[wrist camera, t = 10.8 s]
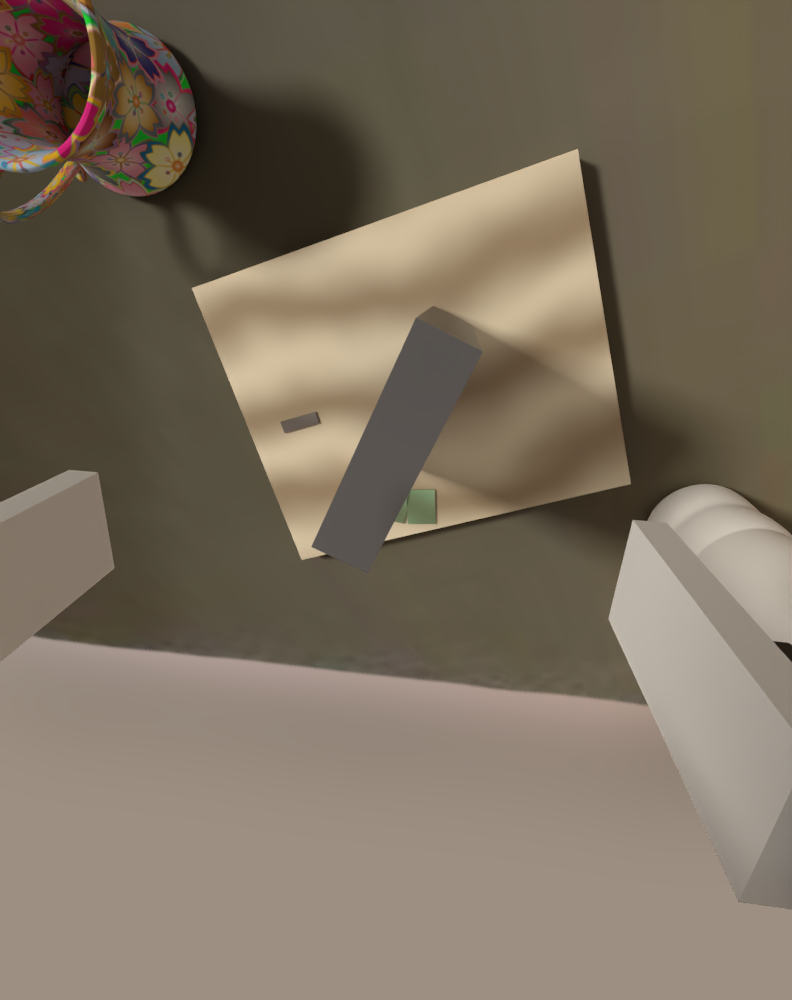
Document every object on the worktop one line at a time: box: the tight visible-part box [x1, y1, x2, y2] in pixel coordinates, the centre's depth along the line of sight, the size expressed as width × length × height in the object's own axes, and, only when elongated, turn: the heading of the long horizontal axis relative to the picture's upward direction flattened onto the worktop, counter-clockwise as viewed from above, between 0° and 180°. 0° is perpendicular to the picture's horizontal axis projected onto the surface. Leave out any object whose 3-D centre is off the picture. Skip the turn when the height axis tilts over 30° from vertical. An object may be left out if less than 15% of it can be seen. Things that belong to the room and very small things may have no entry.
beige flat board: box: [192, 149, 631, 560], centre depth 35 cm, size 20×24×2 cm
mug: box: [0, 0, 197, 224], centre depth 27 cm, size 12×9×11 cm
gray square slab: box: [311, 306, 483, 573], centre depth 28 cm, size 3×14×15 cm, turn 155°
